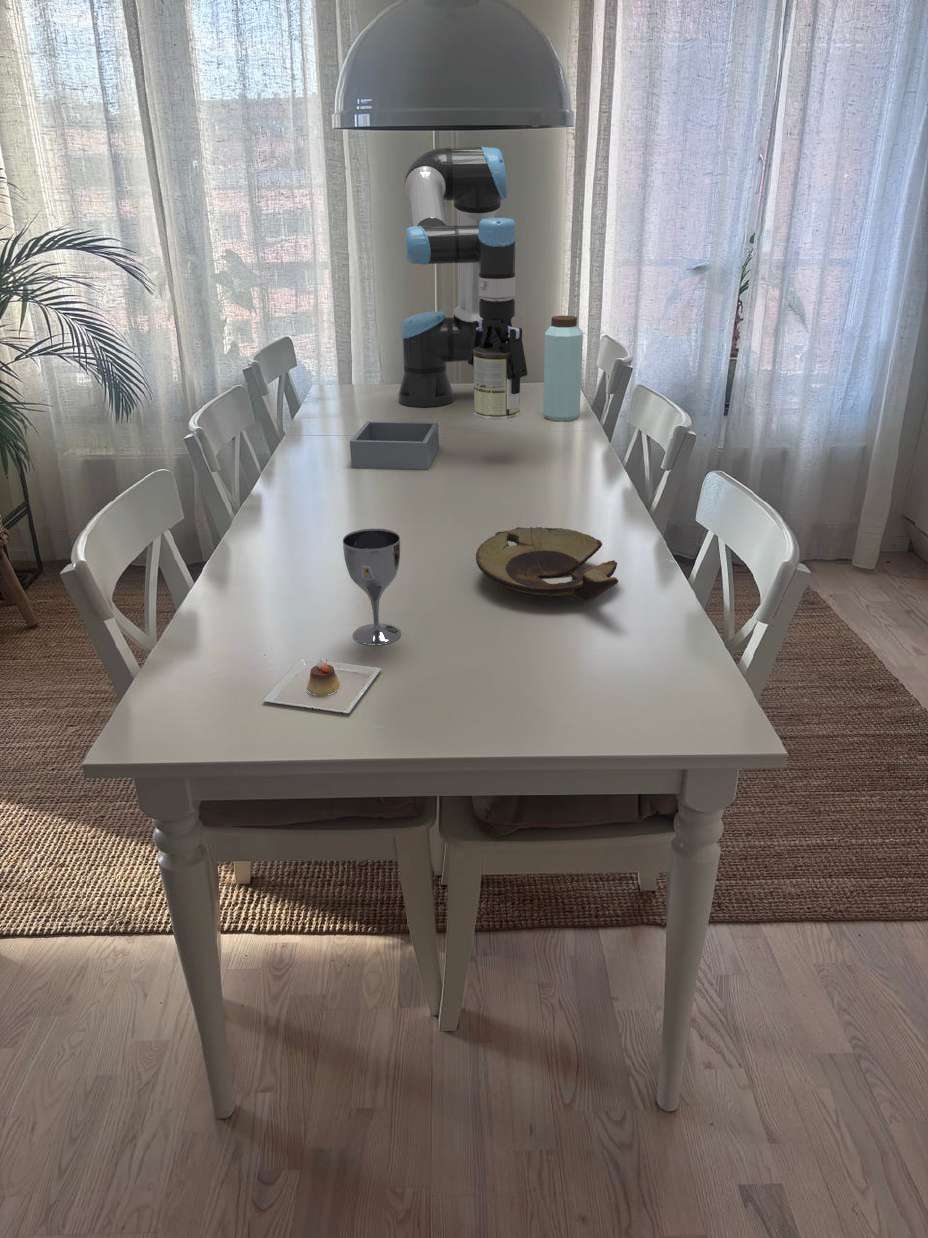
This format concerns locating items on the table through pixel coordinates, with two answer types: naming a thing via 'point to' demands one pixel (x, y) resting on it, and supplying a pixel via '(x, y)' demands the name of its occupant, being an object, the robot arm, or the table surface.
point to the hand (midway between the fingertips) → (496, 403)
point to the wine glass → (373, 576)
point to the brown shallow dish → (545, 562)
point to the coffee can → (491, 384)
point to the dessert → (320, 681)
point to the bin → (395, 445)
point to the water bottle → (562, 369)
